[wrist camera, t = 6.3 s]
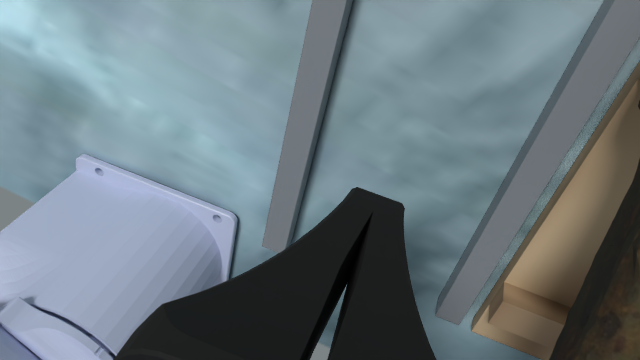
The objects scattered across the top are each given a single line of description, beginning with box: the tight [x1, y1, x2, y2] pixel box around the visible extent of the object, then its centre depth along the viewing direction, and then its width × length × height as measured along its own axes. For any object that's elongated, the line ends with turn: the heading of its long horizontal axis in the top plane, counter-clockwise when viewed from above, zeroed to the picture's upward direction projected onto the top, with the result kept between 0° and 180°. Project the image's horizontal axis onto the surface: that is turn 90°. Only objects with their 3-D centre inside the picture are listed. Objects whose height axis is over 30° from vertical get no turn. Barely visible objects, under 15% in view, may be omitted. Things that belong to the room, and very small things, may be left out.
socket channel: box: [262, 0, 640, 325], centre depth 21 cm, size 10×18×1 cm, turn 168°
